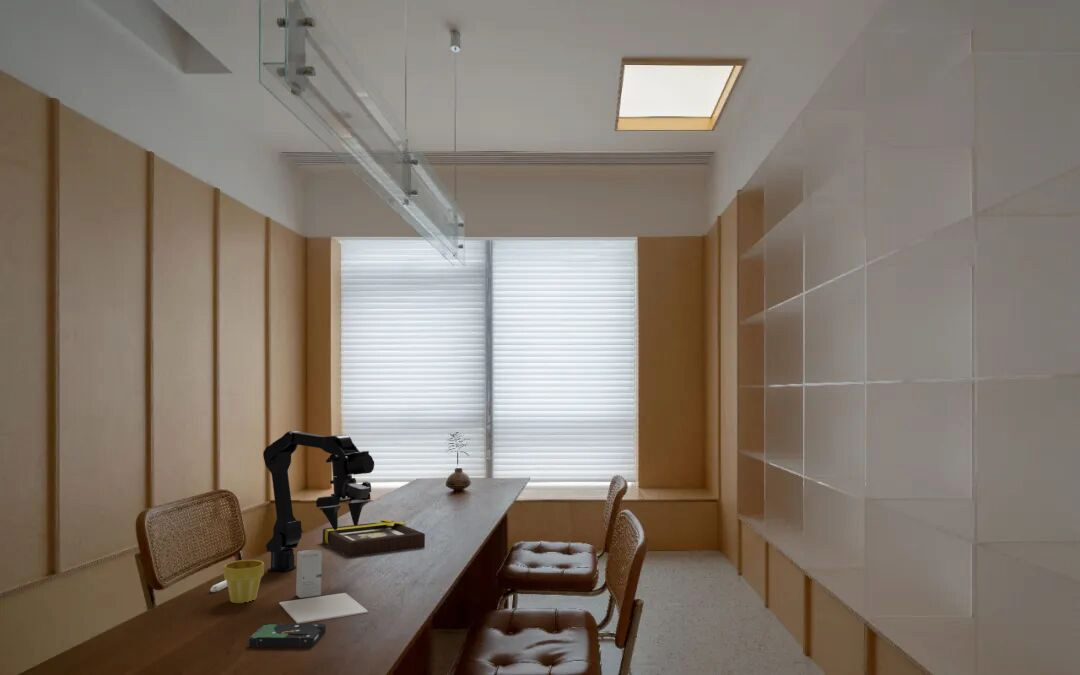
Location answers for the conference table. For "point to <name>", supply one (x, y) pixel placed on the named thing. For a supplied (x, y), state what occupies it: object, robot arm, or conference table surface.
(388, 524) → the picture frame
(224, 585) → the marker
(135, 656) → the conference table surface
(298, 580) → the skincare box
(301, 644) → the disk drive
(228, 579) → the plant pot
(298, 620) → the mat
